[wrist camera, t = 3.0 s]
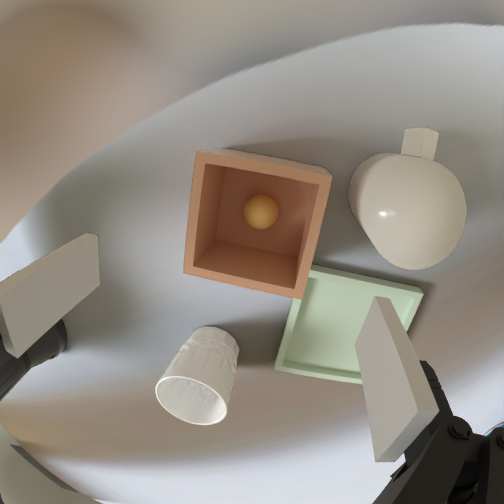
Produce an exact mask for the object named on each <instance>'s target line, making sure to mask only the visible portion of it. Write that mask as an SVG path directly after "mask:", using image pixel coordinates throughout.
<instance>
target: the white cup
mask: <svg viewBox="0 0 504 504" xmlns="http://www.w3.org/2000/svg"><path fill="white" fill-rule="evenodd" d="M238 355H239V347H238V345H237V342H236V340H235V339H234V338H233V337H232V336H231V335H230V334H229V333H228V332H227V331H224V330H222V329H219V328H217V327H208V326H204V327H201V328H199V329H196V330H194V331H193V333H192V334H191V335H190V337H189V338H188V340H187V341H186V343H185V344H183V345H182V347H181V349H180V350H179V351H178V353H177V354H176V356H175V357H174V359H173V360H172V362H171V363H170V365H169V366H168V368H167V369H166V371H165V372H164V374H163V376H162V377H161V379H160V380H159V382H158V383H157V385H156V389H155V392H156V396H157V399H158V400H159V402H160V404H161V405H162V406H163V407H164V408H165V409H166V410H167V411H168V412H169V413H171V414H172V415H174V416H175V417H177V418H179V419H181V420H183V421H186V422H189V423H193V424H198V425H211V424H215V423H218V422H220V421H221V420H223V419H224V418H225V416H226V414H227V410H228V406H229V401H230V397H231V393H232V388H233V384H234V380H235V374H236V369H237V360H238Z"/></svg>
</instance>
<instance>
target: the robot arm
mask: <svg viewBox="0 0 504 504" xmlns="http://www.w3.org/2000/svg"><path fill="white" fill-rule="evenodd" d="M98 286H100V272H99V250H98V235H94V234H90V233H85V234H83V235H81V236H79V237H77V238H75V239H74V240H72V241H70V242H68V243H66V244H64V245H63V246H61V247H59V248H57V249H55V250H54V251H52V252H50V253H48V254H47V255H45V256H43V257H41V258H40V259H38V260H36V261H35V262H33V263H31V264H30V265H28V266H26V267H25V268H23V269H21V270H19V271H17V272H16V273H14V274H13V275H11V276H10V277H8V278H6V279H5V280H4V281H2V282H0V401H1V400H2V399H3V398H4V397H5V395H6V394H7V393H8V392H9V391H10V390H11V389H12V388H13V387H14V386H15V385H16V384H17V382H18V381H19V380H20V379H21V378H22V377H23V376H24V375H25V374H26V373H27V372H28V371H29V370H30V369H31V368H32V367H34V366H37V365H39V364H41V363H43V362H45V361H47V360H48V359H53V358H55V357H57V356H58V355H59V354H60V353H61V352H62V351H63V350H64V348H65V347H66V342H67V337H66V331H65V327H64V324H63V322H62V319H61V318H62V317H63V316H65V315H66V314H67V313H68V312H69V311H70V310H71V309H73V308H74V307H75V306H76V305H77V304H78V303H79V302H81V301H82V300H83V299H84V298H85V297H86V296H88V295H89V294H90V293H91V292H92V291H94V290H95V289H96V288H97V287H98ZM355 349H356V354H357V359H358V363H359V368H360V373H361V378H362V383H363V389H364V394H365V399H366V405H367V411H368V417H369V423H370V429H371V435H372V442H373V449H374V456H375V462H395V461H396V460H397V459H398V458H399V457H400V456H401V455H402V454H403V453H404V454H405V459H406V462H405V463H404V464H403V465H402V466H400V467H399V468H398V469H397V470H396V471H395V472H394V473H393V474H392V475H391V476H390V477H392V479H391V481H390V482H389V483H388V485H387V486H386V487H385V489H384V490H383V491H382V492H381V494H380V495H379V496H378V497H377V499H376V500H375V501H374V502H373V504H504V428H503V427H496V428H494V429H493V430H492V431H491V432H490V434H489V435H488V436H484V435H479V434H475V433H473V432H472V428H471V427H470V425H469V424H468V423H467V422H466V421H465V420H464V419H462V418H460V417H457V416H453V413H452V411H451V408H450V406H449V403H448V401H447V399H446V396H445V394H444V392H443V389H441V388H442V387H441V385H440V382H438V378H437V376H436V374H435V371H434V370H433V368H432V367H431V366H430V365H429V364H428V363H427V362H426V361H421V360H419V359H418V357H417V355H416V353H415V350H414V348H413V346H412V344H411V342H410V339H409V337H408V335H407V333H406V331H405V329H404V327H403V325H402V323H401V320H400V318H399V316H398V314H397V312H396V310H395V308H394V306H393V304H392V302H391V300H390V298H385V297H379V296H374V298H373V301H372V303H371V306H370V309H369V311H368V314H367V316H366V319H365V321H364V323H363V326H362V328H361V331H360V333H359V335H358V338H357V340H356V342H355ZM0 504H4V503H3V501H2V498H1V495H0Z"/></svg>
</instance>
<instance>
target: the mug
mask: <svg viewBox="0 0 504 504" xmlns="http://www.w3.org/2000/svg"><path fill="white" fill-rule="evenodd" d="M438 136H439V132H436V131H434V130H431V129H429V128H426V127H425V128H412V129H405V132H404V138H403V143H402V148H401V153H400V154H395V153H380V154H376V155H373V156H371V157H369V158H367V159H366V160H364V161H363V162H362V163H361V164H360V165H359V166H358V167H357V169H356V170H355V172H354V173H353V176H352V178H351V181H350V184H349V193H348V196H349V203H350V207H351V210H352V212H353V214H354V216H355V218H356V219H357V220H358V222H359V223H360V225H361V226H362V228H363V229H364V231H365V232H366V234H367V235H368V237H369V238H370V240H371V241H372V243H373V244H374V246H375V248H376V249H377V251H378V252H379V253H380V254H381V256H382V257H383V258H385V259H386V260H387V261H388V262H390V263H391V264H393V265H395V266H397V267H400V268H403V269H408V270H419V269H425V268H429V267H431V266H434V265H436V264H437V263H439V262H441V261H442V260H443V259H445V258H446V257H447V256H448V255H449V254H450V253H451V252H452V251H453V250H454V248H455V247H456V245H457V244H458V242H459V240H460V238H461V236H462V234H463V231H464V228H465V224H466V217H467V206H466V199H465V195H464V192H463V189H462V187H461V185H460V183H459V181H458V180H457V178H456V177H455V176H454V174H453V173H452V172H451V171H450V170H449V169H448V168H446V167H445V166H443V165H442V164H440V163H438V162H436V161H434V157H435V152H436V147H437V142H438ZM401 154H402V155H401Z"/></svg>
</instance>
